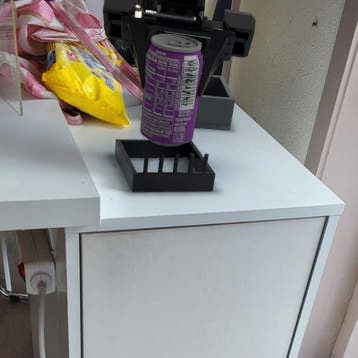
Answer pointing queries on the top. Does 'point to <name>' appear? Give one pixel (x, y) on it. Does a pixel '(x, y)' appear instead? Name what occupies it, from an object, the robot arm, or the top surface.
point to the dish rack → (160, 179)
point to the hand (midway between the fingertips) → (171, 91)
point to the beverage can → (171, 89)
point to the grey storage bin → (215, 105)
